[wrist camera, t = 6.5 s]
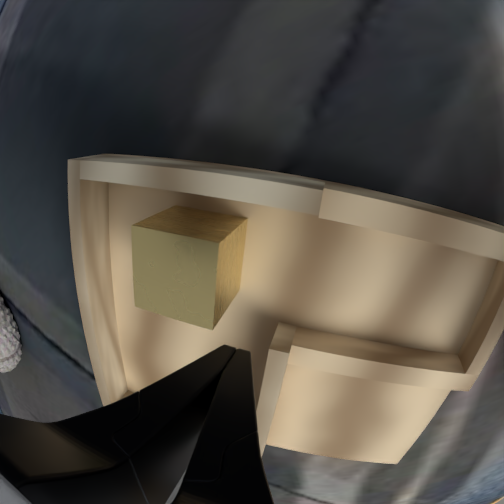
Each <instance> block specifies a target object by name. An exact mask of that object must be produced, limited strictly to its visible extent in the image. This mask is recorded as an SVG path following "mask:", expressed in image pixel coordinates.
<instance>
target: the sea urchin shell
mask: <svg viewBox="0 0 504 504" xmlns="http://www.w3.org/2000/svg"><path fill="white" fill-rule="evenodd" d="M19 338H20V335H19V332H18V326H17V325H16V322H15V321H13V315H12V314H11V313H10V309H8V308H7V307H6V306H5V304H4V299H3V298H2V297H1V295H0V372H2V373H3V372H8V371H11V370H12V369H13V368H15V367H16V365H17V364H18V363H19V361H20V360H21V354H22V351H21V346H22V345H21V343H20V341H21V340H20V339H19Z"/></svg>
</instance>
